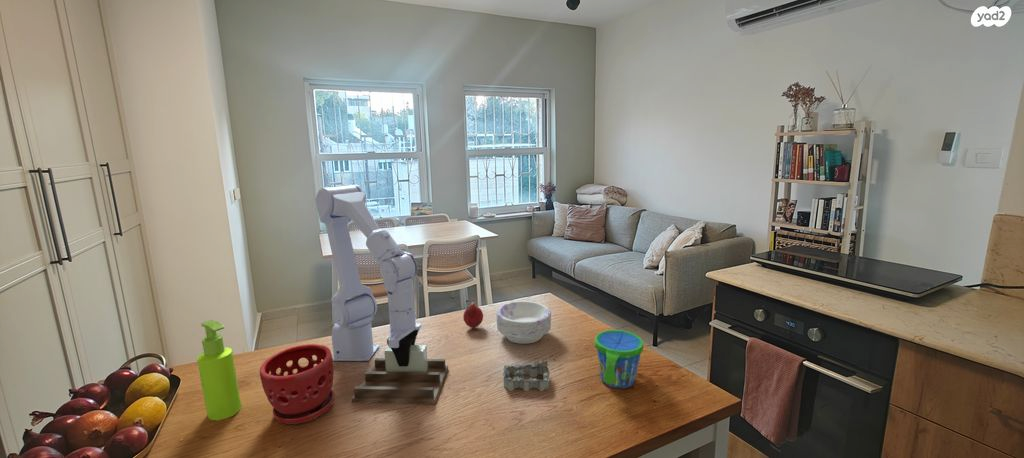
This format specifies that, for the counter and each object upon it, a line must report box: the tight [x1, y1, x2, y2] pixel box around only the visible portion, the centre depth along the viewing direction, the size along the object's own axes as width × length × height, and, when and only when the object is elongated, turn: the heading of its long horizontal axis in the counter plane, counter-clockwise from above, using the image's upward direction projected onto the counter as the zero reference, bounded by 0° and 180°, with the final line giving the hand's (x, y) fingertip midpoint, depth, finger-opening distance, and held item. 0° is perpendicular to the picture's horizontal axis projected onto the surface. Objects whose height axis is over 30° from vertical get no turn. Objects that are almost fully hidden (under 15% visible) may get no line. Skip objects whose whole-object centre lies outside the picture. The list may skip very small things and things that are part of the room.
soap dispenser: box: [196, 319, 242, 421], centre depth 86 cm, size 6×7×20 cm
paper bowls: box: [496, 300, 552, 345], centre depth 119 cm, size 15×15×8 cm
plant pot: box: [259, 343, 335, 425], centre depth 87 cm, size 13×13×12 cm
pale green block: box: [383, 344, 428, 372], centre depth 99 cm, size 9×3×6 cm, turn 87°
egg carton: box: [502, 359, 550, 392], centre depth 97 cm, size 11×8×4 cm
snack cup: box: [594, 329, 644, 389], centre depth 96 cm, size 16×10×10 cm
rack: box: [350, 357, 449, 405], centre depth 97 cm, size 18×14×3 cm
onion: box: [463, 301, 484, 329], centre depth 125 cm, size 6×6×8 cm
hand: (405, 361), depth 99 cm, fingers closed on pale green block, 3 cm apart
